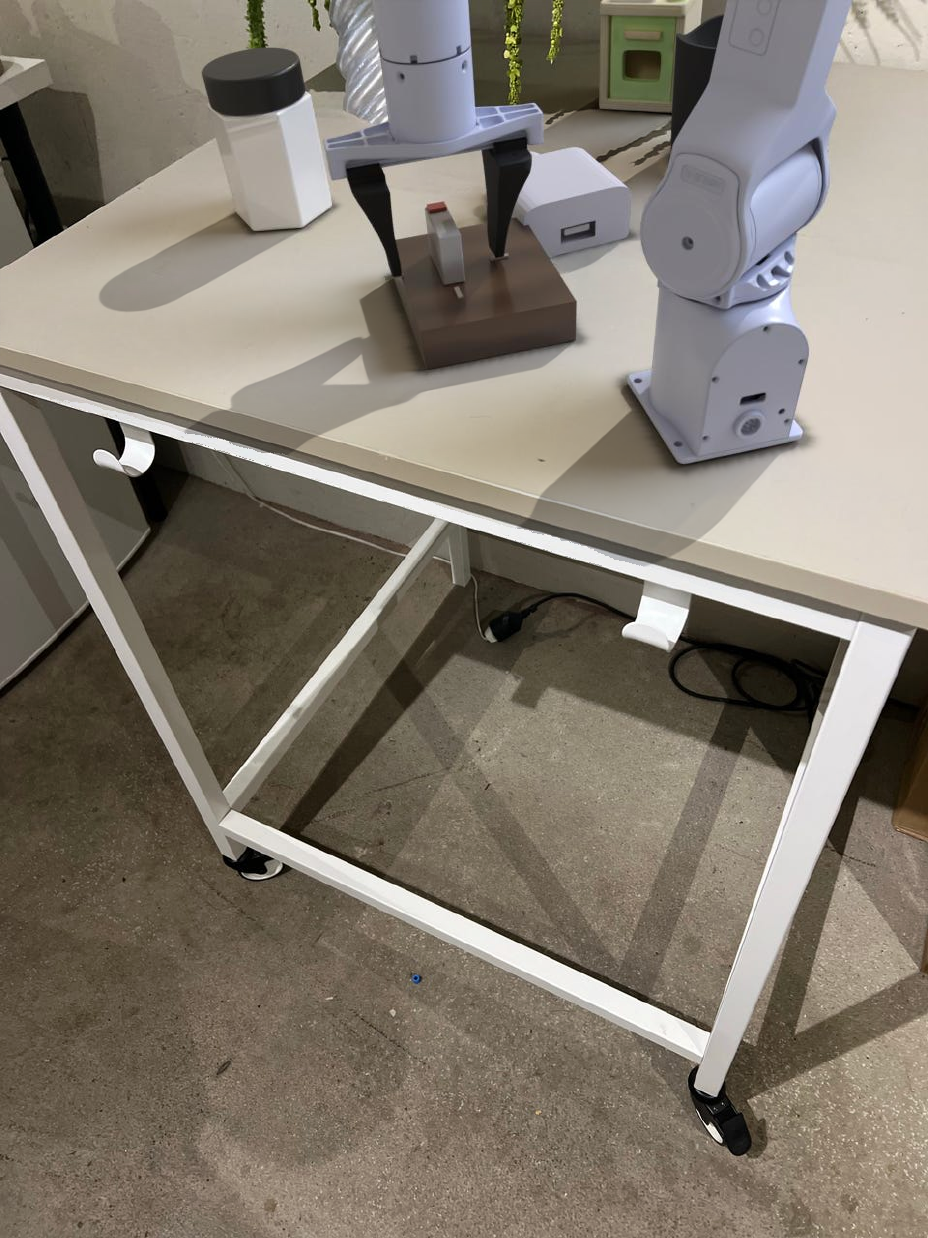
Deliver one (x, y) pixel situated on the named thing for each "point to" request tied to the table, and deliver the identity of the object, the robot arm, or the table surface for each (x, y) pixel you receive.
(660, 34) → the toy kitchen stove
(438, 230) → the block
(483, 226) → the brown square block base
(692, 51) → the pen holder
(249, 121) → the jar
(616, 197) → the charger
